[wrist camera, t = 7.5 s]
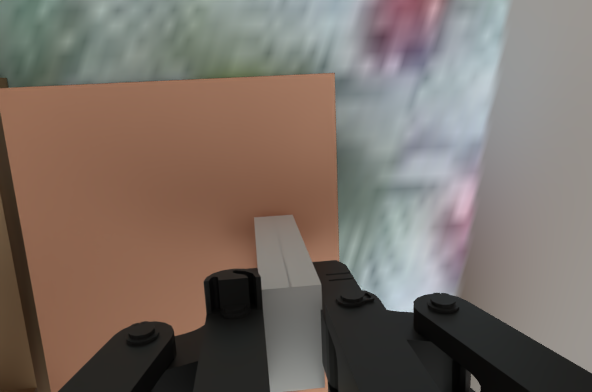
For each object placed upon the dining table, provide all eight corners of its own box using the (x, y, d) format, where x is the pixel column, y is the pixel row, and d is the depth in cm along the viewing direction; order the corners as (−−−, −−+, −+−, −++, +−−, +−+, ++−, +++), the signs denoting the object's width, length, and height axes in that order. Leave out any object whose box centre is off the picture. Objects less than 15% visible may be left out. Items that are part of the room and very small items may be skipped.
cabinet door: (53, 409, 19) (342, 398, 19) (-5, 88, 16) (334, 73, 16) (72, 385, 20) (339, 375, 20) (22, 89, 18) (331, 75, 17)
